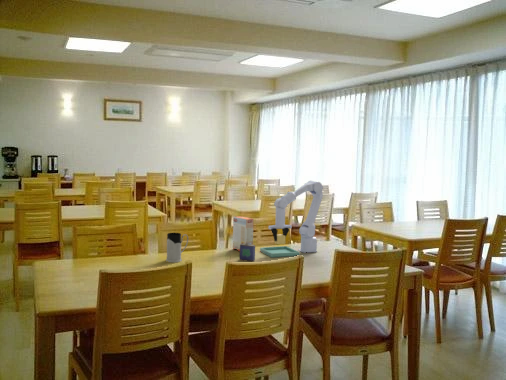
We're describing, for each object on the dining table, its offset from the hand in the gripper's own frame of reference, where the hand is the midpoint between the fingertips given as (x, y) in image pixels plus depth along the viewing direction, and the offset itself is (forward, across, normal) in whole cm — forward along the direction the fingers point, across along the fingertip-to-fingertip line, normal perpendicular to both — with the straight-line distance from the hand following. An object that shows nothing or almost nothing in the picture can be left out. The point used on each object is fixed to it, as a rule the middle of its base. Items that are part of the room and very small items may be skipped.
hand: (279, 240), depth 279 cm
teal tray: (+8, 0, 0) cm, 8 cm away
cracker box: (+8, -19, +13) cm, 24 cm away
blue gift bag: (+8, -25, -11) cm, 29 cm away
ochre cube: (+2, 0, 0) cm, 2 cm away
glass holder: (+8, -62, +1) cm, 63 cm away
